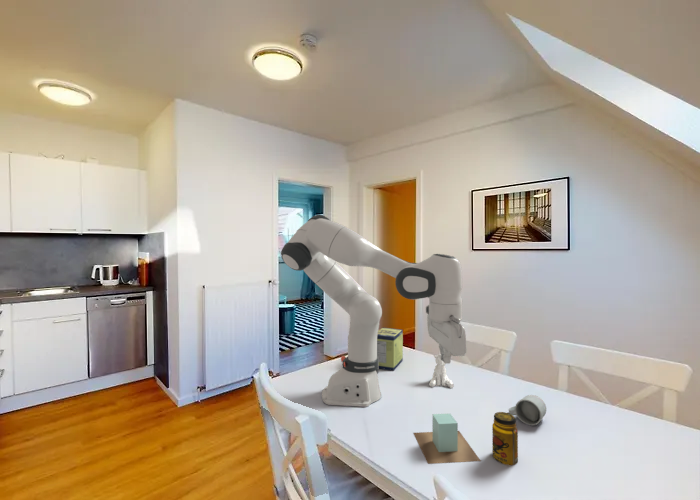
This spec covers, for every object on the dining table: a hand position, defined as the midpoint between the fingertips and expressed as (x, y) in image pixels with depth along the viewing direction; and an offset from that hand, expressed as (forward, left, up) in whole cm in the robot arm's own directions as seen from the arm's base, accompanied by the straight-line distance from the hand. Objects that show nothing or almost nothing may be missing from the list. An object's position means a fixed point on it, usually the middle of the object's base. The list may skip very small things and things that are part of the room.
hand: (445, 361), depth 92 cm
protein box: (-3, +66, -24) cm, 71 cm away
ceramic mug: (+32, +13, -24) cm, 42 cm away
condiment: (+14, -6, -24) cm, 29 cm away
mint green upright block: (0, -1, -23) cm, 23 cm away
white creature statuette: (+14, +42, -24) cm, 51 cm away
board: (0, -1, -24) cm, 24 cm away
